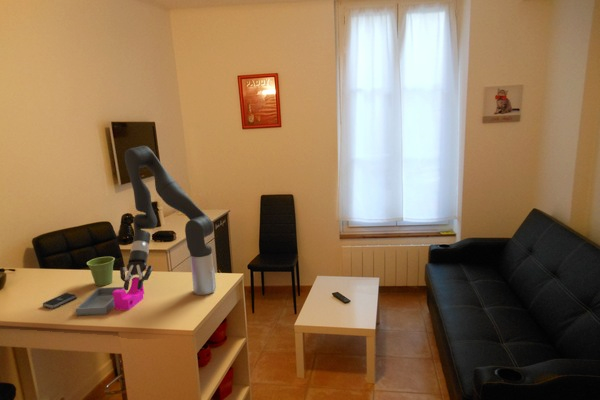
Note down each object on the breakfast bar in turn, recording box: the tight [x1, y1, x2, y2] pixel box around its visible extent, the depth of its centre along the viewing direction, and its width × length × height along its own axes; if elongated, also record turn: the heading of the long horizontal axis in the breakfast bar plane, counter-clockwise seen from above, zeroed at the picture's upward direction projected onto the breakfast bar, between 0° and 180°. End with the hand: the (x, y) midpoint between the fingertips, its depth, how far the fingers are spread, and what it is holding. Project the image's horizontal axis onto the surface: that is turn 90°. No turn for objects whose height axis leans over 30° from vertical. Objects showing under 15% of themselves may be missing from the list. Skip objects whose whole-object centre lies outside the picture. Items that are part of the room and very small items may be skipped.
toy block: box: [113, 276, 145, 311], centre depth 165 cm, size 15×6×8 cm, turn 169°
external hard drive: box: [42, 292, 78, 310], centre depth 167 cm, size 7×11×2 cm, turn 157°
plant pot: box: [86, 256, 116, 287], centre depth 185 cm, size 12×12×11 cm
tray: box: [75, 286, 126, 317], centre depth 164 cm, size 12×20×3 cm, turn 3°
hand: (132, 289), depth 167 cm, fingers closed on toy block, 4 cm apart
